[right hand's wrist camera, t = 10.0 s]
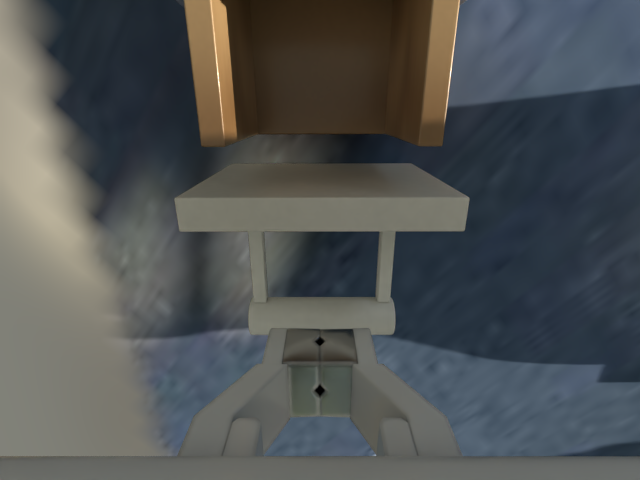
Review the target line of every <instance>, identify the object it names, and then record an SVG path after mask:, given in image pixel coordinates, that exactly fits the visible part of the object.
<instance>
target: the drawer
mask: <svg viewBox="0 0 640 480" xmlns="http://www.w3.org/2000/svg"><path fill="white" fill-rule="evenodd" d="M459 3H460V0H184V7H185V16H186V24H187V32H188V40H189V49H190V57H191V65H192V73H193V82H194V90H195V98H196V106H197V115H198V123H199V131H200V139H201V146H202V147H225V146H228V145H230V144H233V143H236V142H238V141H241V140H244V139H246V138H249V137H252V136H254V135H257V134H387V135H390V136H393V137H395V138H398V139H401V140H404V141H406V142H409V143H412V144H414V145H417V146H442V145H443V137H444V128H445V120H446V112H447V103H448V95H449V87H450V78H451V70H452V62H453V53H454V45H455V37H456V28H457V20H458V12H459ZM174 200H175V206H176V212H177V219H178V225H179V231H180V232H248V239H249V251H250V263H251V275H252V287H253V298H252V299H251V301H250V305H249V313H248V326H249V331H250V334H252V335H269V331H270V329H271V328H287V329H288V328H306V329H352V328H369V329H370V331H371V335H392V334H393V333H394V330H395V321H396V318H395V307H394V302H393V300H392V298H391V297H390V295H391V282H392V270H393V257H394V245H395V232H396V231H465V225H466V219H467V213H468V206H469V200H470V198H469V197H468V196H466V195H464V194H463V193H461V192H459V191H457V190H456V189H454V188H452V187H451V186H449V185H447V184H446V183H444V182H442V181H440V180H439V179H437V178H435V177H434V176H432V175H430V174H429V173H427V172H425V171H423V170H422V169H420V168H418V167H417V166H415V165H413V164H411V163H337V164H231V165H229V166H227V167H226V168H224V169H222V170H221V171H219V172H217V173H216V174H214V175H212V176H211V177H209V178H207V179H206V180H204V181H202V182H201V183H199V184H197V185H196V186H194V187H192V188H191V189H189V190H187V191H186V192H184V193H182V194H181V195H179V196H177V197H176V198H175V199H174ZM313 231H380V232H379V248H378V264H377V280H376V297H268V286H267V270H266V255H265V239H264V232H313Z"/></svg>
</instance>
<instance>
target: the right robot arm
mask: <svg viewBox="0 0 640 480" xmlns="http://www.w3.org/2000/svg"><path fill="white" fill-rule="evenodd" d="M313 416H326V417H350V419H351V420H352V422H353V423H354V424H355V426H356V427H357V429H358V430H359V431H360V433H361V434H362V436H363V437H364V438H365V440H366V441H367V442H368V444H369V445H370V447H371V448H372V449H373V451H374V452H375V454H376V456H264V454H265V452H266V451H267V450H268V448H269V447H270V446H271V444H272V443H273V441H274V440H275V439H276V437H277V436H278V435H279V433H280V432H281V430H282V429H283V428H284V426H285V425H286V423H287V422H288V421H289V419H290V417H313ZM0 480H640V456H462V453H461V451H460V448H459V446H458V443H457V441H456V439H455V436H454V434H453V431H452V429H451V426H450V424H449V422H448V419H447V417H446V416H445V415H444V414H443V413H442V412H440V411H439V410H438V409H437V408H436V407H434V406H433V405H432V404H431V403H429V402H428V401H427V400H426V399H425V398H423V397H422V396H421V395H420V394H419V393H417V392H416V391H415V390H414V389H413V388H411V387H410V386H409V385H408V384H407V383H405V382H404V381H403V380H402V379H401V378H399V377H398V376H397V375H396V374H395V373H393V372H392V371H391V370H390V369H388V368H387V367H386V366H385V365H384V364H378V361H377V357H376V353H375V348H374V344H373V340H372V335H371V331H370V329H369V328H352V329H306V328H288V329H287V328H271V329H270V331H269V335H268V339H267V344H266V348H265V352H264V357H263V361H262V364H256V365H255V366H254V367H253V368H252V369H250V370H249V371H248V372H247V373H245V374H244V375H243V376H242V377H241V378H239V379H238V380H237V381H236V382H235V383H233V384H232V385H231V386H230V387H228V388H227V389H226V390H225V391H224V392H222V393H221V394H220V395H219V396H218V397H216V398H215V399H214V400H213V401H212V402H210V403H209V404H208V405H207V406H205V407H204V408H203V409H202V410H201V411H199V412H198V413H197V414H196V415H195V416H194V417H193V420H192V422H191V424H190V427H189V429H188V432H187V434H186V436H185V439H184V441H183V444H182V446H181V448H180V451H179V453H178V456H0Z"/></svg>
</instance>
